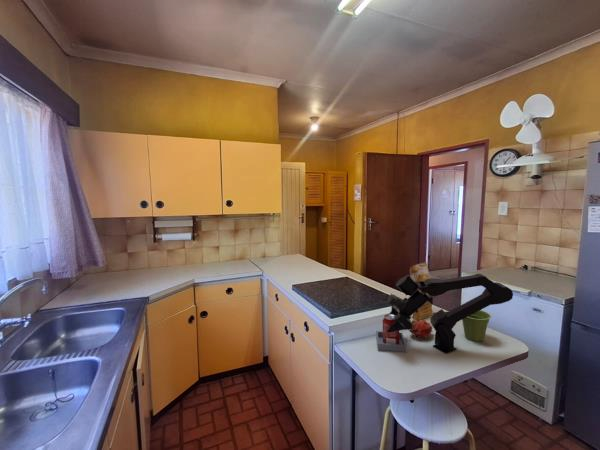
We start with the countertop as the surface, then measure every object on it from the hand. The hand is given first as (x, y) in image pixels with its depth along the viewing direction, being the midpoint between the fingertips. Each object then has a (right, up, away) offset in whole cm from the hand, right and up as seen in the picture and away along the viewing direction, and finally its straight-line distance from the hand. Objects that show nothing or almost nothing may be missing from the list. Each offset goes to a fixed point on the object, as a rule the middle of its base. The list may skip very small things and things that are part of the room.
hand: (386, 326), depth 118 cm
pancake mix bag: (+28, -5, +29) cm, 40 cm away
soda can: (+2, -8, 0) cm, 8 cm away
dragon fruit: (+18, -7, +7) cm, 20 cm away
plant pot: (+40, -7, +4) cm, 41 cm away
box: (+2, -8, 0) cm, 8 cm away
